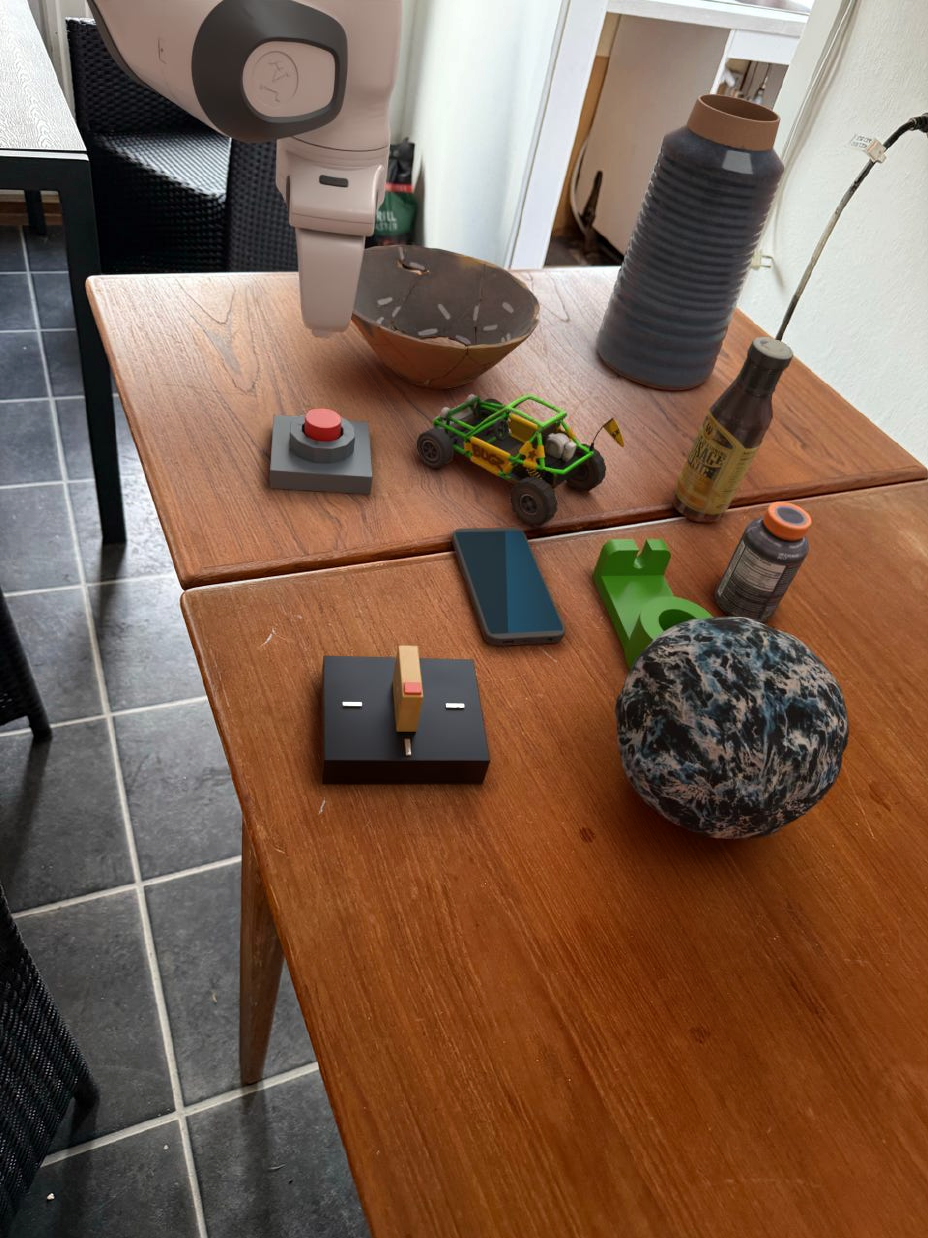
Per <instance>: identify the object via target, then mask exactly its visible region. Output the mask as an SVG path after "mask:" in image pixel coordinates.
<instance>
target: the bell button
mask: <svg viewBox="0 0 928 1238" xmlns="http://www.w3.org/2000/svg"><path fill="white" fill-rule="evenodd" d="M305 414H306V415H305V430H304V431H305V434H306V436H307V437H308V438H310V439H313V440H315V441H322V442H330V441H334V440H337V439H338V438H339V437H340V432H341V417H342V416H341V415H340V414H339V413H338V412H336V411H334V410H332V409H330V408H323V407H322V408H321V407H319V408H313V409H310V410H309V411H307V412H306V413H305Z"/></svg>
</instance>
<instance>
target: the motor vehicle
mask: <svg viewBox="0 0 928 1238" xmlns="http://www.w3.org/2000/svg"><path fill="white" fill-rule="evenodd" d="M528 400H529V401H534V402H536V403H538V404H541V405H543V406H544V407H547V408H548V409H550V410H552V411H553V412H556V413H557V414H555V415H554V416H552V417H550V418H549V419H546V420H545V421H543V422H541V421H539V420H537V419H535V418H534V417H532V416H530V415H528V414H526V413H524V412H523V411H521V410H519V409H516V408H517V407H519V405H521V404H523V403H524V402H526V401H528ZM511 413H512V414H511ZM567 416H568V413H567V411H565V410H563V409H561V408H559V407H557V406H555V405H554V404H552V403H550V402H548V401H546V400H544V399H542V398H540V397H538V396H535V395H532V394H525V395H523V396H521V397H519V398H517V399H515V400H514V401H512V402H510V403H509V404H507V405H504V404H503V403H502V402H501V401H499V400H498V399H496V398H486V399H484V400H482V399H481V398H480V396H477V395H476V394H473V393H471V394H468V396H467V397H466V400H465V402H463V403H460V404H458V405H456V406H455V407H453V408H451V409H450V408H449V407H447V406H445V407H443V408H442V409H441V410H440V413H439V415H438V416H435V417H433V420H432V425H433V427H431V428H429V429H426V430H425V431H423V432H422V433H420V434H419V435H418V436H417V438H416V444H415V445H416V451H417V454H418V456H419V458H420V460H421V461H422V462H423V463H424V464H425V465H426V466H427V467H429V468H432V469H440V468H441V467H444V466H445V465H447V464H448V463H450V462H451V461H452V459H453V458H454V452H455V451H457V452H458V453H460V454H461V455H463V456H465V457H467V458H468V459H470V462H472V463H474V464H475V465H477V466H479V467H480V468H482V469H485V471H488V472H490V473H492V474H493V475H495V476H497V477H501V478H502V479H504V480H506V481H508V482H510V483H512V484H514V485H513V486H512V488H511V490H510V492H509V503H510V506H511V511H512V512H513V513H514V514H515V515H516V518H517V519H518V520H520V521H521V522H522V523H523V524H524V525H528V526H529V527H538V528H539V527H542V526H543V525H544V524H545V525H546V523H548V522H549V521H551V520H552V519H553V518H554V517H555V515H556V513H557V512H558V504H559V503H558V499H557V496H556V495H557V494H556V492H555V490H554V489H555V488H557V487H559V486H560V485H562V484H564V482H566V484H567V485H568V486H570V487H571V488H572V489H573V490H577V491H578V492H590V491H591V490H593V489H595V488H596V487H598V486H599V485H600V484H602V483H603V480H604V479H605V478H606V475H607V474H606V472H607V465H606V462H605V459H604V456H603V455H602V454H601V452H600V451H599V450H598V449H596V448H595V440H596V438H597V436H598V435H599V433H600V432H601V431H602V429H604V430H605V431H606V432H607V433H608V434H609V436H610V437H611V438H612V439H613V440H614V441H615V443H616V444H617V445H619V447H621V448H625V442H624V441H625V440H624V437H623V434H622V432H621V429H620V426H619V424H618V422H617V421H616V419H615V418H614V417H611V418H610V419H609V420H608V421H606V422H605V423H604V424H603V425H602V426H601V427H600V429H599V430H598V431H597V432H596V434H595V436H594V438H593V440H592V442H591V443H590V445H589V444H587V443H580V442H579V441H578V439H577V435H576V433H574V431H573V429H572V428H571V427H570V426H568V425H567V423H566V422H565V418H567ZM562 428H563V429H562Z"/></svg>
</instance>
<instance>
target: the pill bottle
mask: <svg viewBox="0 0 928 1238" xmlns="http://www.w3.org/2000/svg"><path fill="white" fill-rule="evenodd" d="M811 526H812V518H811V515H809V513H808V512H807V511H806V510H804V509H803V508H801V506H798V505H796V504H794V503H791V502H787V501H775V502H772V503H771V504H769V505H768V507H767V509H766V511H765V513H764V514H763V516H760V517H757V518H755V519H753V520H751V521H750V522H749V523H747V525H746V527H745V529H744V531H743V533H742V535H741V536H740V539H739V541H738V543H737V545H736V547H735V549H734V551H733V553H732V556H731V557H730V560H729V562H728V564H727V565H726V567H725V570H724V572H723V574H722V576H721V578H720V580H719V582H718V584H717V587H716V589H715V593H714V598H715V601H716V603H717V604H718V606H719V608H720V609H721V610H722V611H723V612H724V613H725V614H727V616H733V617H744V618H749V619H753V620H755V621H757V622H760V623H762V624H764V623H766V622H767V621H769V620H771V618H772V617H773V616H774V614H775V613H776V611H777V609H778V607H779V605H780V603H781V602H782V600H783V598H784V596H785V595H786V593H787V592H788V589H789V587H790V586H791V584H792V582H793V580H794V579H795V577H796V576H797V573H798V572H799V570H800V568H801V566H802V564H803V562H804V561H805V559H806V558H807V555H808V553H809V551H810V544H809V539H808V537H807V534H808V532H809V530H810V528H811Z"/></svg>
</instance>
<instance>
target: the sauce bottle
mask: <svg viewBox="0 0 928 1238" xmlns="http://www.w3.org/2000/svg"><path fill="white" fill-rule="evenodd" d="M746 353H747V354H746V358H745V360H744V362H743V365H742V366H741V369H740V371H739V373H738V375H737V376H736V378H734V380H733V381H732V383H730V384H729V386H728V387H727V388H726V389H725V390H724V391H723V393H721V395H720V396H719V397H718V398H717V399H716V401H715V402H713V404H712V405H711V406H710V407H709V409H708V411H707V413H706V415H705V417H704V419H703V421H702V423H701V426H700V428H699V430H698V433H697V435H696V437H695V438H694V441H693V444H692V445H691V448H690V450H689V453H688V455H687V457H686V459H685V462H684V464H683V466H682V468H681V470H680V472H679V474H678V477H677V479H676V481H675V484H674V488H673V491H672V494H671V503H672V506H673V507H674V509H675V510H676V511H677V512H678V513H679V514H680V515H682V516H684V517H685V518H686V519H688V520H689V521H692V522H698V523H704V524H708V523H714V522H717V521H719V520H720V519H721V518H723V516H724V515H725V513H726V511H727V510H728V509H729V507H730V505H731V503H732V501H733V499H734V498H735V496H736V494H737V492H738V490H739V488H740V486H741V483H742V482H743V480H744V478H745V476H746V474H747V472H748V470H749V468H750V466H751V464H752V462H753V460H754V458H755V456H756V455H757V453H758V451H759V449H760V447H761V446H762V443H763V439H764V437H765V435H766V433H767V431H768V429H769V428H770V425H771V423H772V420H773V419H774V409H773V394H774V393H775V392H776V387H777V386H778V383H779V381H780V379H781V377H782V375H783V373H784V371H786V369H788V367H789V366H790V364H791V362H792V359H793V357H794V352H793V350H792V348H791V347H790V346H789V345H787V343H785V342H783V341H781V340H779V339H777V338H773V337H769V336H758V337H755V338H754V339H753V340H752V341H751V344H750V345H749V348H748V349H747V352H746Z"/></svg>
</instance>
